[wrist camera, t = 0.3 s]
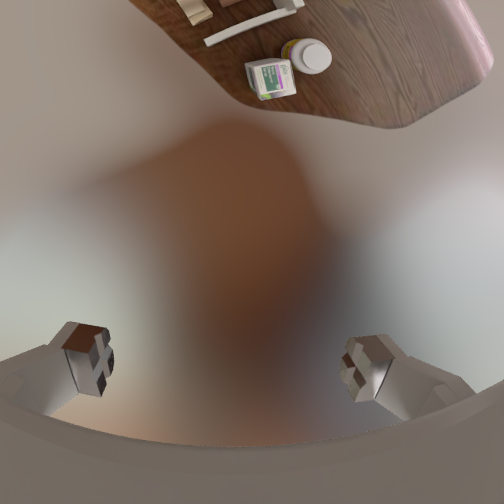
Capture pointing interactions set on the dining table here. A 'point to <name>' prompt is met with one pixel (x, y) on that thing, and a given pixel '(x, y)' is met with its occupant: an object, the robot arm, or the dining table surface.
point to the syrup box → (270, 78)
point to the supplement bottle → (307, 55)
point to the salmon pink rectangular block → (228, 2)
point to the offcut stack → (195, 10)
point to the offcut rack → (257, 20)
